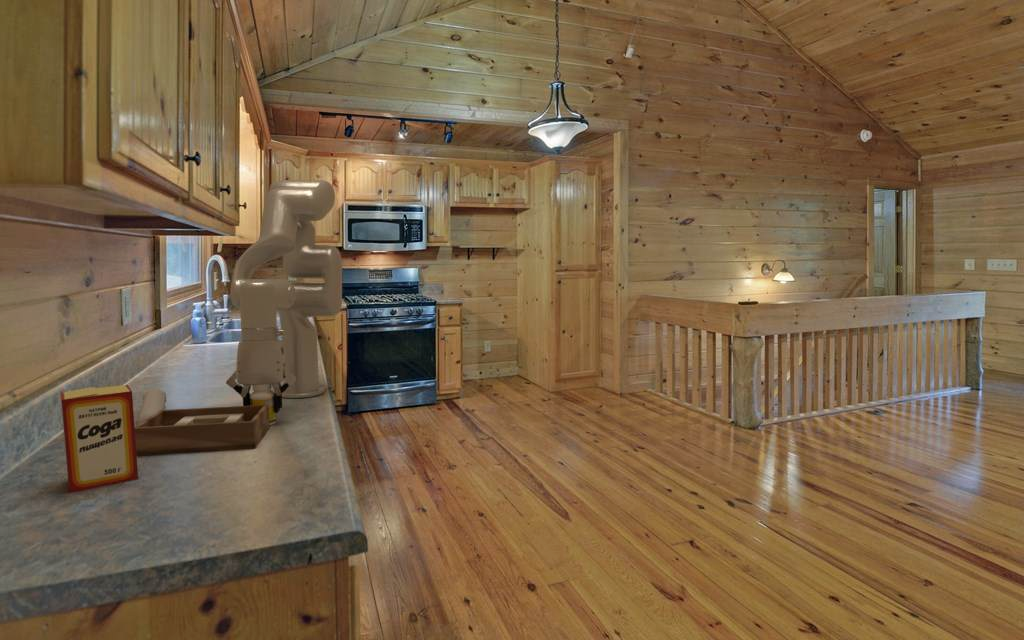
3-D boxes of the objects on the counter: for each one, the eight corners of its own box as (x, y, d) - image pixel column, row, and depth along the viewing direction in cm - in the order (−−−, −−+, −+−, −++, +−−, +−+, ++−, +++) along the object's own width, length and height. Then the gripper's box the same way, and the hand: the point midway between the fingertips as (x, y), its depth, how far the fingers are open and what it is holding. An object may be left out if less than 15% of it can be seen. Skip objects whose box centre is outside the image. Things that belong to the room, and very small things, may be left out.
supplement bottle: (246, 425, 130) (244, 383, 129) (267, 419, 135) (265, 379, 134) (260, 428, 128) (258, 386, 126) (281, 422, 132) (279, 381, 131)
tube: (167, 414, 126) (169, 391, 147) (139, 410, 123) (146, 386, 144) (159, 437, 125) (163, 410, 147) (131, 433, 123) (139, 406, 144)
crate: (162, 434, 123) (160, 410, 123) (269, 428, 128) (268, 404, 127) (133, 456, 110) (131, 428, 109) (255, 448, 114) (253, 422, 114)
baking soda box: (133, 468, 103) (127, 382, 102) (138, 478, 98) (131, 388, 97) (68, 481, 97) (60, 390, 96) (69, 492, 92) (61, 397, 91)
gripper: (301, 332, 134) (304, 406, 136) (223, 333, 131) (227, 410, 133) (296, 336, 127) (299, 414, 129) (214, 338, 124) (218, 418, 125)
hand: (263, 411), depth 131 cm, fingers closed on supplement bottle, 5 cm apart
